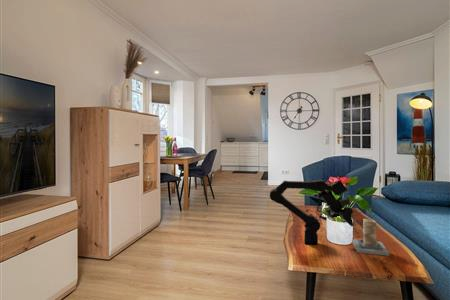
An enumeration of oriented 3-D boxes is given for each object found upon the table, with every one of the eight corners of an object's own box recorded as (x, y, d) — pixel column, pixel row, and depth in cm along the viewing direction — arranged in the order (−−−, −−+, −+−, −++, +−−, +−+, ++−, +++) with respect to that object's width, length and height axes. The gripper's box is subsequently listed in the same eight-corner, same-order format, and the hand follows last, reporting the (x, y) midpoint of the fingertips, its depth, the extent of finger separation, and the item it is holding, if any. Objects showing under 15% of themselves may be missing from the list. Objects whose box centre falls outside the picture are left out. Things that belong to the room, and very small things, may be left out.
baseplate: (357, 252, 125) (357, 247, 125) (352, 241, 138) (352, 237, 138) (389, 255, 121) (389, 250, 120) (381, 244, 134) (381, 239, 134)
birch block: (365, 246, 128) (365, 221, 128) (363, 242, 133) (363, 218, 132) (376, 247, 126) (376, 222, 126) (373, 244, 131) (373, 219, 131)
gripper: (351, 191, 128) (370, 217, 126) (332, 192, 146) (348, 214, 145) (335, 204, 126) (354, 230, 124) (318, 203, 144) (334, 226, 143)
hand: (347, 224), depth 134 cm, fingers open, 9 cm apart
